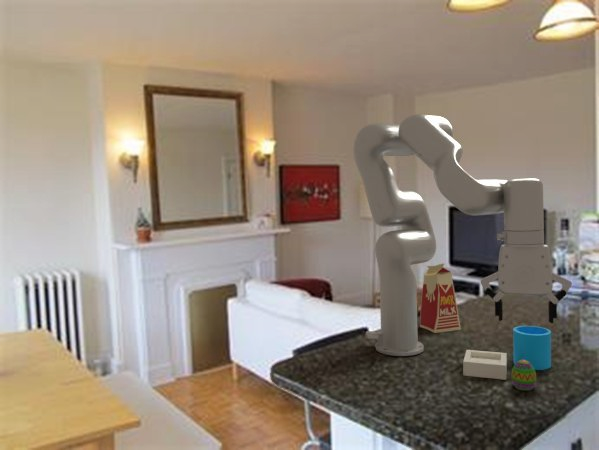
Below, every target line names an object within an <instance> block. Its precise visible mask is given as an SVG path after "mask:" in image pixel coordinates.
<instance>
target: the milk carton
mask: <svg viewBox="0 0 599 450" xmlns="http://www.w3.org/2000/svg"><path fill="white" fill-rule="evenodd" d="M444 266H445V263H440V264H437V265H426V267H427V268H428V269H427V270H426V272H425V274H424V276H423V282H422V283H423V284H422V290H421V302H420V315H419V316H420V317H419V327H420V328H422V329H425V330H428V331H430V332H432V333H434V334H438V333H445V332H447V333H448V332H453V331H459V330H460V331H461V330H462V328H461V327H462V326H461V322H460V321H461V320H460V316H459V310H458V303H457V299H456V298H457V297H456V293H455V286H454V281H453V275H452V271H451V270H448V269H447V268H445V267H444Z"/></svg>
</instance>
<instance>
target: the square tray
mask: <svg viewBox="0 0 599 450" xmlns="http://www.w3.org/2000/svg"><path fill="white" fill-rule="evenodd" d="M507 355H508V353H507V352H501V351H500V352H499V351H497V352H496V351H487V350H486V351H485V350H473V349H466V351H465V354H464V358H463V362H462V364H463V365H462V369H463V370H462V371H463V372H462V375H463V376H467V377H473V378H474V377H477V378H485V379H486V378H487V379H494V380H496V379H497V380H502V381H503V380H505V381H506V380H507V369H508V357H507Z"/></svg>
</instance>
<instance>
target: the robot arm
mask: <svg viewBox="0 0 599 450" xmlns="http://www.w3.org/2000/svg"><path fill="white" fill-rule="evenodd" d="M453 133H454V131H453V126H452V125H451V123H450V122H449V120H448V119H446V118H445V117H442V116H439V115H429V114H422V113H421V114H412V115H408V116H407V117H405V118H404V119H403V120H402V121H401V122H400V124H398V123H397V124H396V123H387V122H386V123H384V122H383V123H382V122H379V123H378V122H377V123H375V122H374V123H370V124H367V125H365V126H363V127H361V128H360V130H359V131H358V133H357V134H356V136H355V139H354V142H353V157H354V161H355V165H356V168H357V169H358V172H359V174H360V177H361V180H362V182H363V186H364V191H365V195H366V199H367V203H368V207H369V211H370V214H371V217H372V220H373V221H374V223H375V224H376V225H377V226H379V227H383V228H384V227H386V228H387V227H390V228H391V227H400V226H401V228H402V229H397V230H396V229H395V230H390V231H387V232H385V233H383V234H382V235H380V236H379V237H378V239H377V240H376V242H375V246H374V250H375V251H374V253H375V258H376V263H377V266H378V267H377V268H378V275H379V277H378V278H379V298H380V299H379V302H380V303H379V304H380V305H379V306H380V330H378V331H371V330H370V331H368V330H367V331H365V338H366V339H367V340H368V341H376V343H375V346H374V347H375V350H376V351H377V352H378V353H380V354H383V355H387V356H393V357H411V356H415V355H419V354H421V353H422V352H424V350H425V349H424V347H425V346H424V344H423V343H422V342H421V341H418V340H419V337H418V334H419V333H418V290H417V288H418V285H417V279H416V276H415V273H414V272H413V270H412V267H411V266H412V265H419V264H424V263H426V262H429V261H430V260H432V259H433V257H434V256H435V255H436V251H437V241H436V240H437V239H436V237H435V231H434V229H433V225H432V222H431V218H430V214H429V212H428V208H427V204H426V202H425V200H424V199H423V198H422V197H421V195H420V194H419V193H417V192H415V191H412V190H409V189H407V190H401V189H399V186H398V184H397V181H396V177H395V173H394V171H393V170H392V168H391V166H390V165H389V164H388V163H387V161H386V160H385V158H384V157H385V156H386V157H409V156H414V155H415V156H416V157H418V158H419V160H421V162H423V163H424V164H425V166H427V167H428V168H429V169H430V170H431V171H432V172H433V178H434V182H435V185H436V187H437V189H438V191H439V192H440V194H441V195H443V197H445V198H446V200H448V202H449V203H451V205H453V207H454V208H456V209H458V210H459V211H460V212H461V213H463V214H465V215H470V216H474V217H475V216H486V215H496V214H503V230H504V231H502V232H500V233H499V232H498V233H496V239H497V240H500V241H502V242H504V244H502V245H500V248H499V254H498V269H497V270H498V271H496V272H494V273H492V274H490V275H488V276H485V277H483V278H481V279H480V284H481V286H482V287H483V290H484V291H485V293H486V294H487V295H488V296H489V297H490V299H492V300H493V301H494V314H495V316H497V317H498V322H502V321H503V318H504V316H503V315H504V313H503V310H504V309H503V299H502V298H503V297H504V296H505V295H519V296H520V295H521V296H523V295H524V296H545V297H547V299H548V300H549V301H548V305H547V306H548V322H549V324H554V319H558V312H557V311H558V306H557V305H558V303H559V302H560V301H562V299H564V297H566V296H567V294H568V292H569V290H570V288H571V287H572V285H573V283H572V281H571V280H570V279H567V278H565V277H562V276H560V275H559V274H556V273H554V272H553V269H552V258H551V252H550V248H549V245H547V244H545V230H544V229H545V225H544V222H545V221H544V216H545V215H544V213H545V212H544V185H543V182H542V181H541V180H540V179H538V178H516V179H509V180H507V179H475V178H474V177H473V176H471V175H470V174H469V173H468V172H467V171H465V170H464V169H463V168H462V166H460V165H459V162H460V160H461V159H462V157H463V154H464V153H463V148H462V145H461V144H460V143H459V142H458V141H456V140H455V139H454V138H453V135H454V134H453ZM496 280H497V282H498V290H497V291H495V290H494V289H493V288H492V287H491V285H490V283H492V282H494V281H496ZM553 281H555V282H556V283H558V284H560V285H561V287H560V289H559V290H557V292H556V293H554V292H553Z"/></svg>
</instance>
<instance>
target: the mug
mask: <svg viewBox="0 0 599 450" xmlns="http://www.w3.org/2000/svg"><path fill="white" fill-rule="evenodd" d="M512 330H513V331H512V332H513V333H512V335H513V337H512V339H513V340H512V342H513V345H512V346H513V347H512V349H513V355H512V356H513V358H512V359H513V360H512V361H513V362H512V363H513V364H514V365H515V364H516V363H517V362H518V361H519V360H527V361H528V362H529V363H530V364H531V365H532V366H533V368H534V370H535V371H543V370H548V369H550V368H551V367H552V331H551V330H550V329H548V328H546V327H541V326H536V325H519V326H516V327H513V329H512Z"/></svg>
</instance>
